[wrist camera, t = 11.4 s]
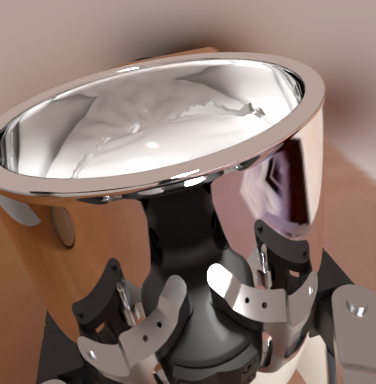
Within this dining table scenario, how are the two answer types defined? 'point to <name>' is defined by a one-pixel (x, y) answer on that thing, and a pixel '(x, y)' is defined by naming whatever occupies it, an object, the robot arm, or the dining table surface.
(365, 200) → the dining table surface
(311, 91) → the shiny silver metal cup
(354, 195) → the dining table surface
